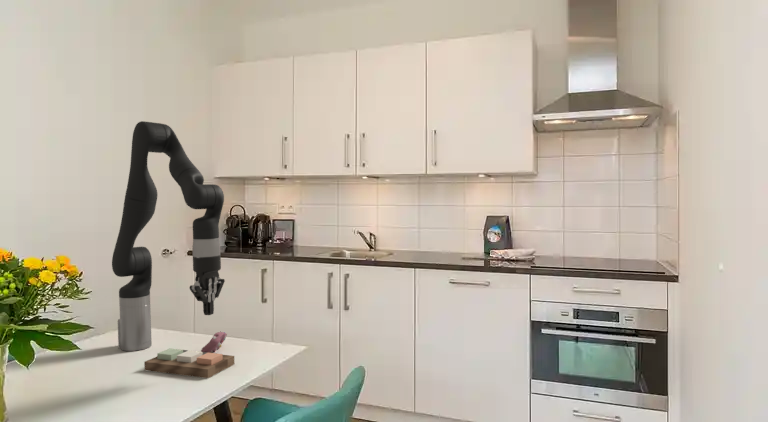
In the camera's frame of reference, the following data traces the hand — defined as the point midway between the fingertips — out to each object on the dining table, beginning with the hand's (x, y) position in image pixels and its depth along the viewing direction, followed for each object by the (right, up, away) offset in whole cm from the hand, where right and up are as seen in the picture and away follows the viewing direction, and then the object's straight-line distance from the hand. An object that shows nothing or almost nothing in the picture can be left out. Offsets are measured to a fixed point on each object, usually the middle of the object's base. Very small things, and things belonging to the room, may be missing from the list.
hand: (208, 314), depth 147 cm
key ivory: (-6, -14, +3) cm, 16 cm away
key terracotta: (0, -14, +1) cm, 14 cm away
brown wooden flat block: (-6, -16, +3) cm, 17 cm away
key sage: (-13, -14, +5) cm, 20 cm away
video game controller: (-4, -16, +19) cm, 25 cm away
